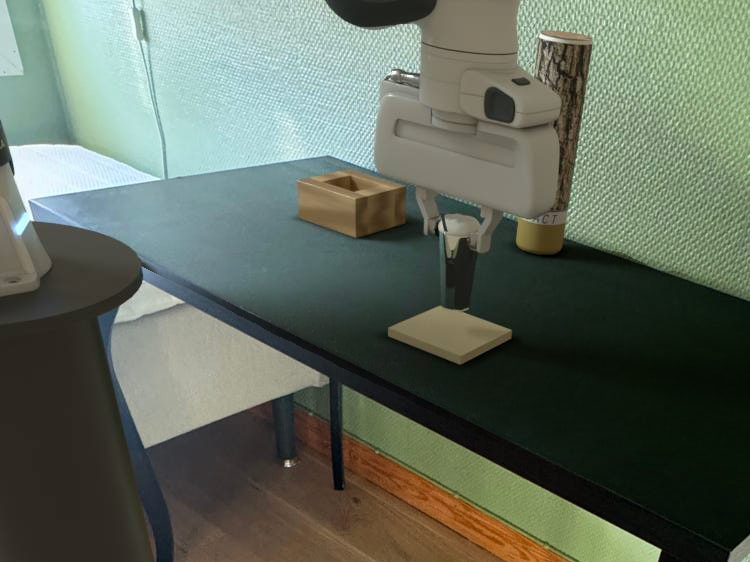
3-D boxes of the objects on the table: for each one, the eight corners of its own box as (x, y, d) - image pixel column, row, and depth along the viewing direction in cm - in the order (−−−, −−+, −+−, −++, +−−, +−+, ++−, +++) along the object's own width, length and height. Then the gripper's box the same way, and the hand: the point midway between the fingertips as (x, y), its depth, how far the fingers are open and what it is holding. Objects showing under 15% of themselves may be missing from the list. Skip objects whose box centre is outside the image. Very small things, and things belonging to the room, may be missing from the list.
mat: (460, 365, 85) (460, 355, 84) (387, 336, 89) (387, 327, 88) (511, 338, 92) (512, 330, 91) (441, 312, 95) (442, 304, 94)
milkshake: (420, 306, 87) (424, 206, 81) (453, 295, 91) (459, 198, 84) (452, 319, 85) (458, 217, 79) (483, 307, 89) (492, 209, 82)
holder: (356, 238, 112) (355, 199, 109) (298, 218, 116) (296, 180, 113) (405, 223, 119) (406, 186, 116) (349, 205, 123) (349, 168, 120)
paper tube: (526, 237, 119) (551, 29, 102) (568, 248, 117) (601, 37, 100) (507, 249, 115) (530, 32, 98) (551, 260, 113) (582, 41, 96)
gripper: (359, 66, 76) (360, 224, 85) (540, 109, 68) (520, 277, 78) (401, 62, 80) (398, 213, 89) (577, 102, 72) (553, 262, 82)
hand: (456, 243), depth 83 cm, fingers closed on milkshake, 4 cm apart
